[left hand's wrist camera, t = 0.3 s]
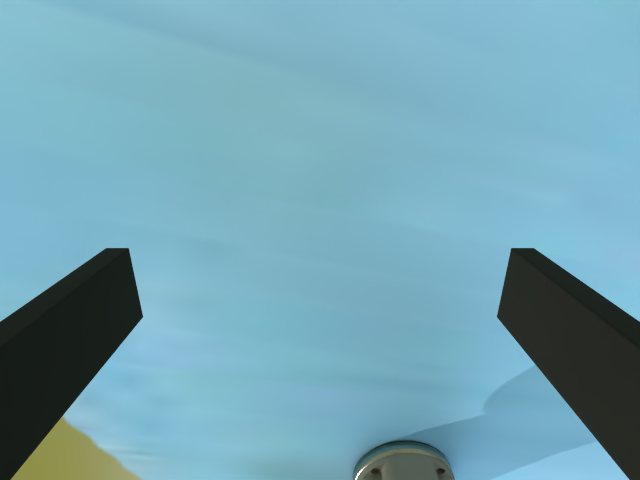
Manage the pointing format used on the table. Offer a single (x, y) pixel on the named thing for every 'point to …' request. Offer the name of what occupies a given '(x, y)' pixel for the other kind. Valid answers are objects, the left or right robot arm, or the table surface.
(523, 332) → the left robot arm
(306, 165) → the table surface
